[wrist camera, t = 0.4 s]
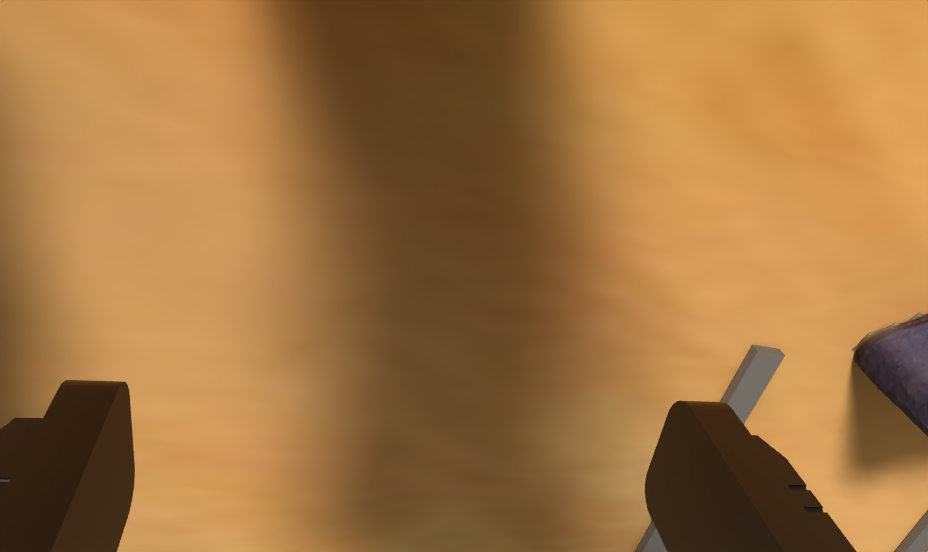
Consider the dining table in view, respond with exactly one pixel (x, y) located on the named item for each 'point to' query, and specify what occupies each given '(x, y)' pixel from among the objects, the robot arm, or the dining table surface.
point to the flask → (899, 365)
